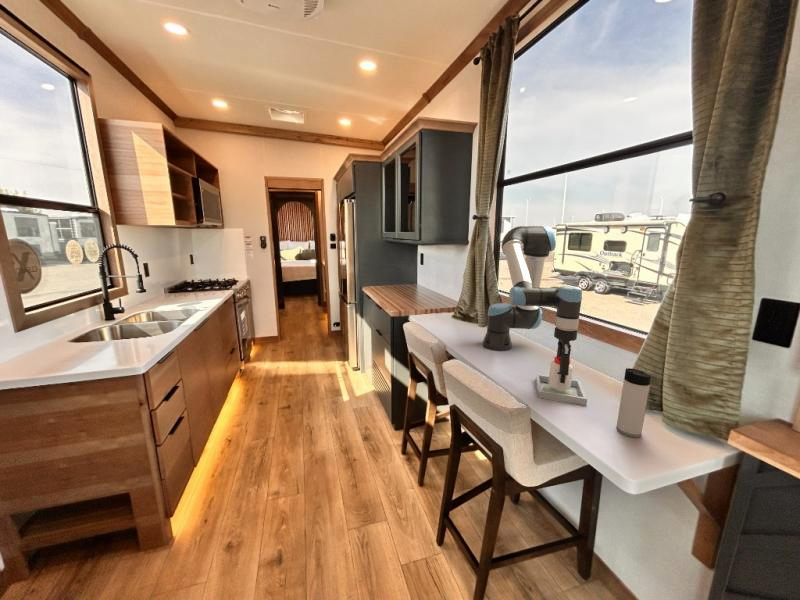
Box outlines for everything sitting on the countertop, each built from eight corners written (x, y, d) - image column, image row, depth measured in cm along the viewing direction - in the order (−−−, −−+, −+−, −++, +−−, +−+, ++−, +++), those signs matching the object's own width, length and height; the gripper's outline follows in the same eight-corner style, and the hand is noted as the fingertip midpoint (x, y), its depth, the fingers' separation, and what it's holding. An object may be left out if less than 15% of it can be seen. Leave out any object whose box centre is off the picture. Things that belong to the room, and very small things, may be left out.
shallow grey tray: (535, 379, 133) (536, 374, 132) (578, 386, 127) (579, 380, 127) (537, 397, 118) (538, 391, 117) (586, 405, 112) (587, 399, 112)
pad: (542, 383, 129) (542, 382, 129) (572, 387, 126) (572, 386, 126) (544, 395, 119) (544, 394, 119) (577, 401, 115) (577, 399, 115)
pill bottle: (573, 391, 118) (577, 363, 115) (551, 389, 119) (554, 361, 117) (567, 382, 125) (570, 356, 123) (546, 380, 127) (548, 354, 124)
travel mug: (610, 426, 100) (619, 366, 96) (629, 425, 101) (639, 366, 97) (625, 438, 94) (636, 375, 90) (646, 437, 95) (657, 374, 91)
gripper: (552, 320, 128) (546, 373, 133) (558, 334, 109) (551, 395, 114) (573, 322, 126) (566, 376, 130) (582, 337, 107) (574, 399, 111)
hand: (559, 385), depth 122 cm, fingers closed on pill bottle, 8 cm apart
